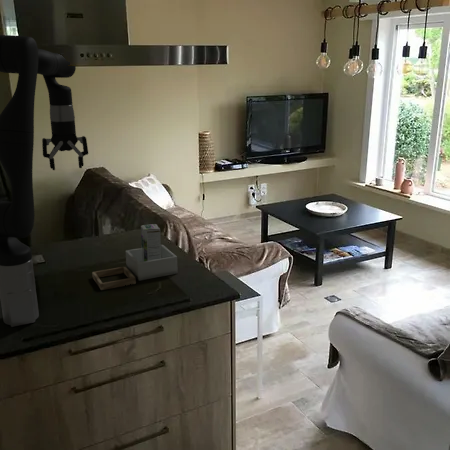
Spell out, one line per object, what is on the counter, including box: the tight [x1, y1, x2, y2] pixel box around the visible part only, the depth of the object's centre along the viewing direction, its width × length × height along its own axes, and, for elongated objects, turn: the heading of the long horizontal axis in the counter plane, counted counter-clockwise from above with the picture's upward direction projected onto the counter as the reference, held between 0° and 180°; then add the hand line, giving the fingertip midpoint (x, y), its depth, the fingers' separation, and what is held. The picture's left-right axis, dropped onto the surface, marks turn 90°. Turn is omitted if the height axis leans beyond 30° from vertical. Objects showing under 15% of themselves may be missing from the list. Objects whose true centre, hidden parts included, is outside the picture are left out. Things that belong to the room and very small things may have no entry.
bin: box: [125, 244, 179, 281], centre depth 177 cm, size 14×14×6 cm
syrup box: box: [140, 223, 162, 262], centre depth 176 cm, size 6×6×14 cm
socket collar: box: [91, 265, 137, 291], centre depth 169 cm, size 11×11×2 cm
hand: (67, 168), depth 173 cm, fingers open, 8 cm apart
